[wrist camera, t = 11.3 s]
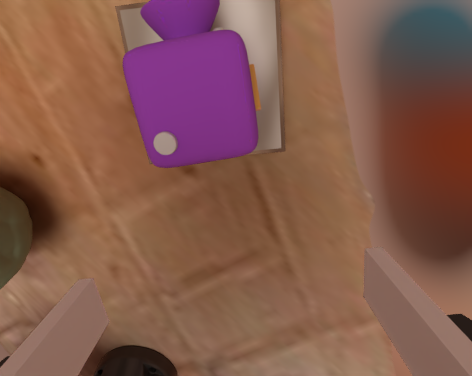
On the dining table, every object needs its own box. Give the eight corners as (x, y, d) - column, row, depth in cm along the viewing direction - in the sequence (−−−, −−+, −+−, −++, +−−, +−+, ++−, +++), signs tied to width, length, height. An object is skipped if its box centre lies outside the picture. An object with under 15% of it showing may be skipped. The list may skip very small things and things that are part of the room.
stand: (162, 154, 36) (148, 164, 31) (135, 19, 30) (113, 5, 25) (279, 143, 35) (285, 152, 30) (273, 2, 30) (279, -17, 24)
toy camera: (226, -9, 25) (216, -71, 15) (271, 129, 29) (285, 146, 20) (126, 38, 26) (61, 7, 17) (183, 162, 31) (156, 193, 21)
